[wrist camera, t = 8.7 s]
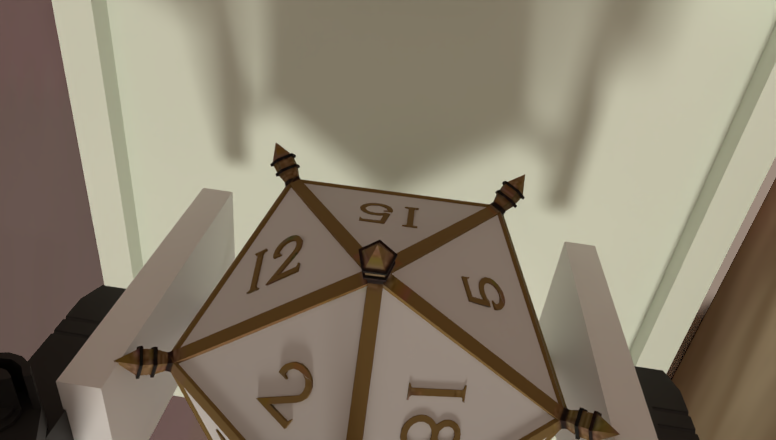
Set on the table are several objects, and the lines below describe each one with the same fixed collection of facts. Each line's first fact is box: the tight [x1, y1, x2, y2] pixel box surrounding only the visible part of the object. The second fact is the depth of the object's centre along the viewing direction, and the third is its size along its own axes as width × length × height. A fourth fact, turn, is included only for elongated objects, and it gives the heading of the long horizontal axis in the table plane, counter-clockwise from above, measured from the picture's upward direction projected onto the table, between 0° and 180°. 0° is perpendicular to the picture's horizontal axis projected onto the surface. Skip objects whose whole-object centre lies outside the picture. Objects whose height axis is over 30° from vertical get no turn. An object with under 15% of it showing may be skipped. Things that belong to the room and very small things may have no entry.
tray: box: [52, 0, 776, 440], centre depth 17 cm, size 18×17×1 cm
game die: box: [114, 143, 620, 440], centre depth 13 cm, size 9×8×10 cm
